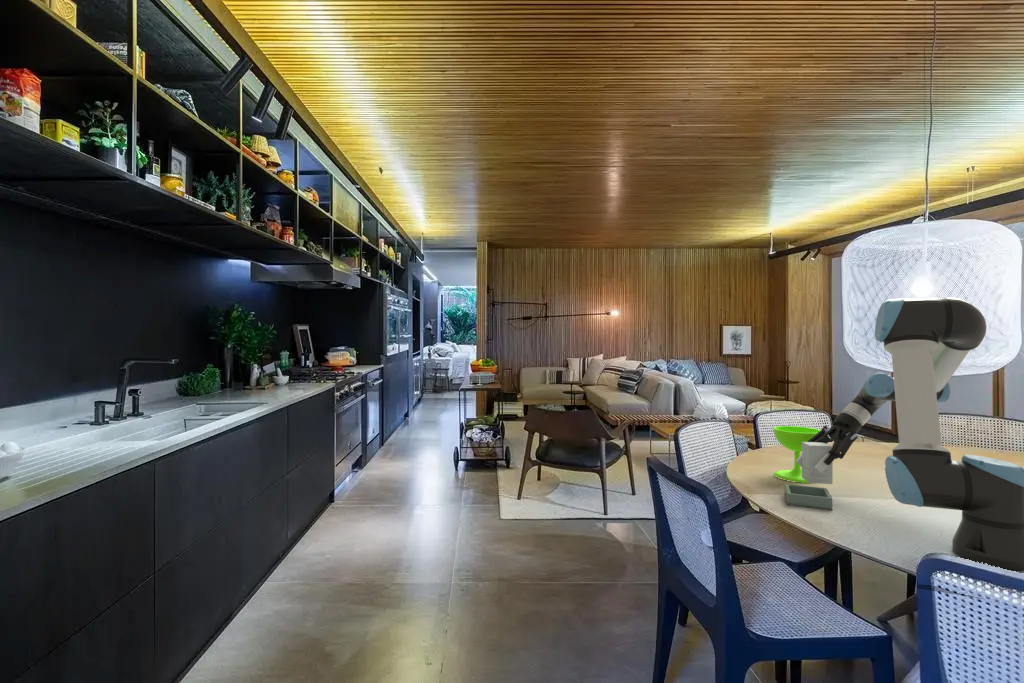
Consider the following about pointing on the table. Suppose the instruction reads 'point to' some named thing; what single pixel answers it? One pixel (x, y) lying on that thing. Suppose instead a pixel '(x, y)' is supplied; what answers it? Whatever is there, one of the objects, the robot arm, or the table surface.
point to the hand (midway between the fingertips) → (807, 466)
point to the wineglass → (793, 448)
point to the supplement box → (811, 457)
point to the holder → (808, 497)
